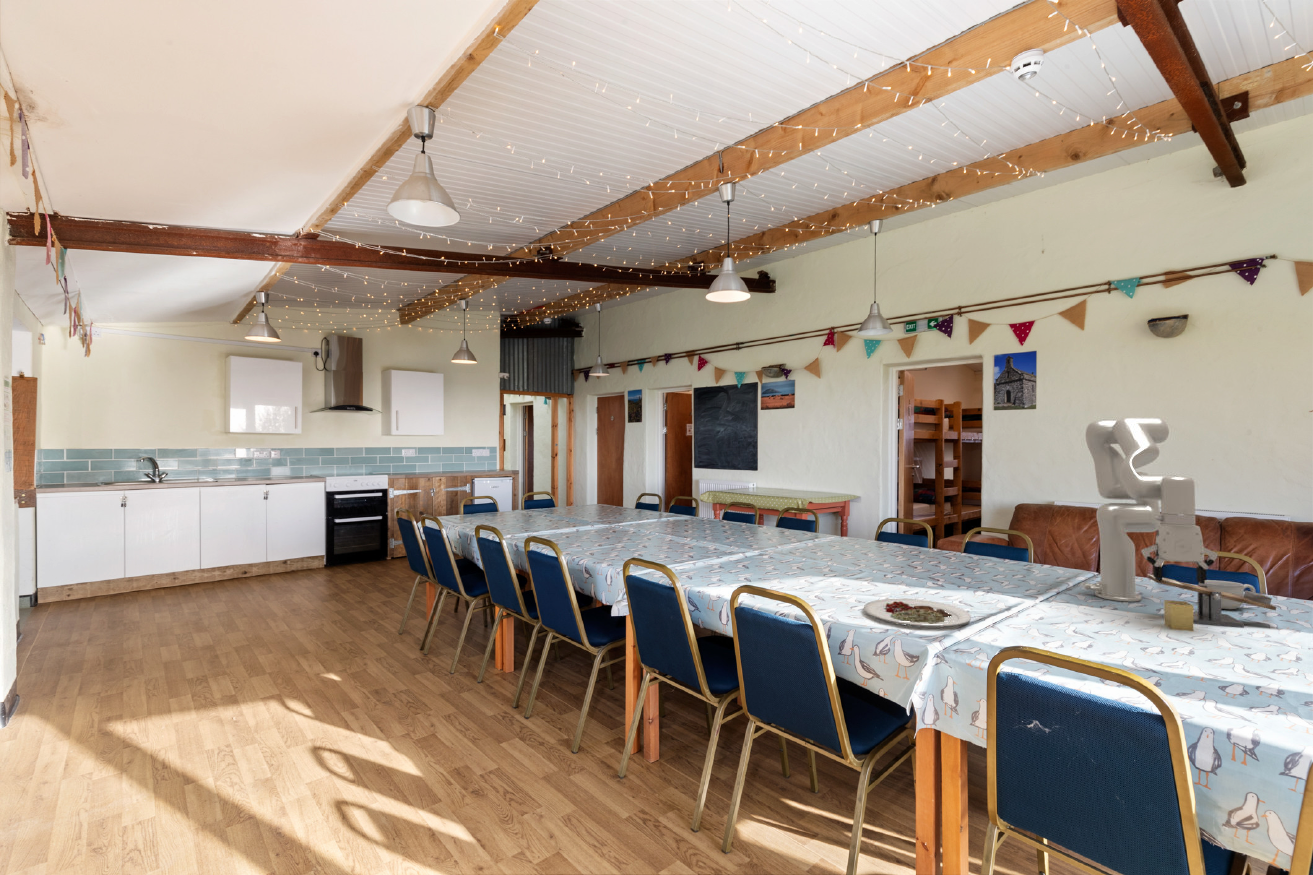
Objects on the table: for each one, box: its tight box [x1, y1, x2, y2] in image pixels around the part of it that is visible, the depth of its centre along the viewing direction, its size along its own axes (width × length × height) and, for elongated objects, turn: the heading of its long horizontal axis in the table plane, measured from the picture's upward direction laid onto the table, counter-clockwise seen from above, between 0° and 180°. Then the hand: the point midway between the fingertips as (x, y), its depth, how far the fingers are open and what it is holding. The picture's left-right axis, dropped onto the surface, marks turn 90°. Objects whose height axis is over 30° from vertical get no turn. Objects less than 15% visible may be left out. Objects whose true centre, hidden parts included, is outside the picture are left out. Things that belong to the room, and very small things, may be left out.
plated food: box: [863, 598, 972, 628], centre depth 194 cm, size 30×30×3 cm
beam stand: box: [1193, 584, 1245, 629], centre depth 188 cm, size 12×11×10 cm
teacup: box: [1198, 579, 1256, 610], centre depth 202 cm, size 14×11×8 cm
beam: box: [1147, 573, 1277, 611], centre depth 188 cm, size 28×7×3 cm, turn 69°
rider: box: [1163, 599, 1194, 632], centre depth 181 cm, size 5×5×7 cm
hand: (1179, 581), depth 181 cm, fingers open, 9 cm apart
